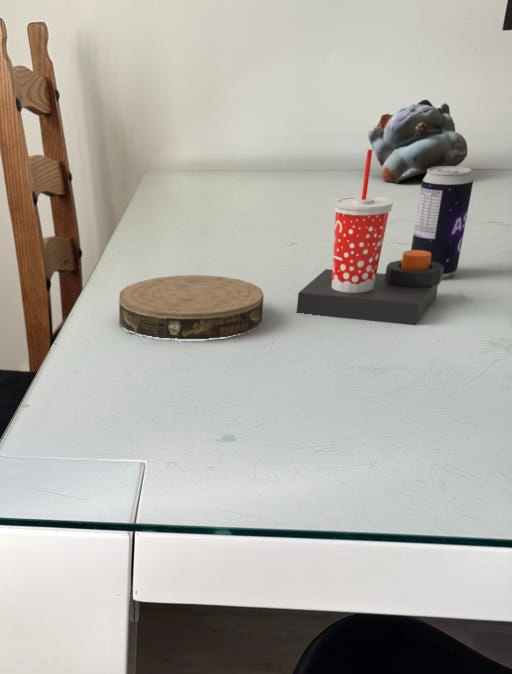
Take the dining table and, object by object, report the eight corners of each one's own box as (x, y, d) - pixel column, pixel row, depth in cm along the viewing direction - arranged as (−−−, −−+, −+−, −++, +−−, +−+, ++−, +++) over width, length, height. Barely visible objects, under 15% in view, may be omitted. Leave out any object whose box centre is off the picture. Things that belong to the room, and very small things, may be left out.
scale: (441, 297, 116) (447, 261, 113) (419, 326, 107) (426, 288, 105) (325, 287, 121) (329, 253, 119) (296, 314, 113) (299, 277, 111)
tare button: (431, 267, 113) (433, 251, 112) (425, 273, 111) (428, 257, 110) (403, 265, 114) (406, 249, 113) (398, 271, 112) (400, 255, 111)
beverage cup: (331, 278, 116) (346, 144, 108) (385, 282, 113) (405, 145, 105) (318, 292, 111) (333, 153, 103) (374, 296, 109) (394, 155, 101)
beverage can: (449, 283, 120) (468, 175, 114) (401, 278, 123) (417, 172, 116) (460, 272, 124) (480, 166, 118) (414, 267, 127) (430, 164, 120)
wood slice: (130, 299, 121) (130, 274, 119) (264, 302, 117) (267, 276, 115) (107, 340, 108) (107, 312, 106) (257, 344, 104) (259, 315, 103)
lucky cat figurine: (381, 185, 172) (365, 102, 171) (378, 202, 184) (363, 124, 182) (473, 155, 168) (458, 70, 166) (464, 175, 179) (450, 95, 178)
